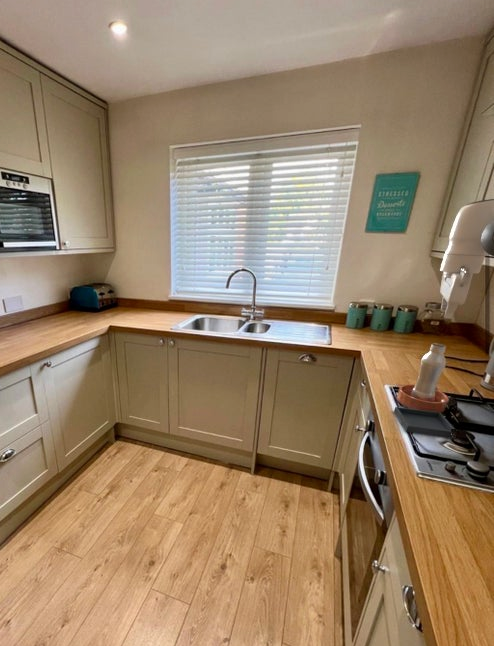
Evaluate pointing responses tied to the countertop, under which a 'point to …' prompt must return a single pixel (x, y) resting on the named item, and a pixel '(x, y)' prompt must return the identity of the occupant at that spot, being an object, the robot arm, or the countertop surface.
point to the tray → (423, 422)
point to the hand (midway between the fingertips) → (445, 314)
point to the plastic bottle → (429, 373)
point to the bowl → (414, 403)
